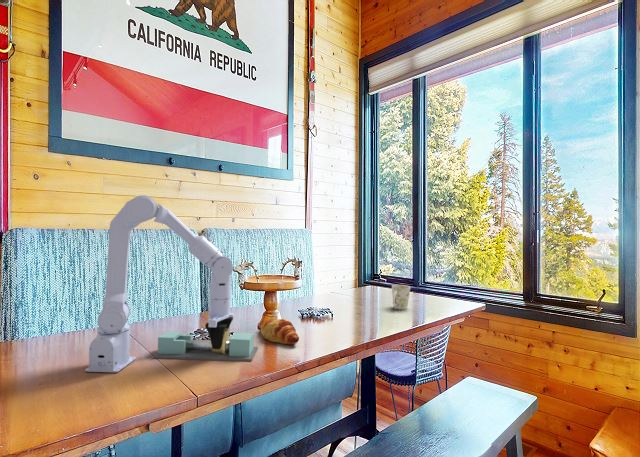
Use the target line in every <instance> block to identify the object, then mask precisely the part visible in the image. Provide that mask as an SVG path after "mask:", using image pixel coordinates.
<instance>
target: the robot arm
mask: <svg viewBox="0 0 640 457" xmlns="http://www.w3.org/2000/svg"><path fill="white" fill-rule="evenodd" d="M152 219H154V220H153V222H155V223H159V224H162V225H165V226H167V227H168V228H169V229H170V230H171V231H172V232H174V233H175V234H176V235H178V237H179V238H181V239H182V240H183V241H185V243H186V244H187V246H188V250H187V251H188V252H189V253H190V254H192V255H193V256H194V257H195V258H196V259H197V260H199V262H201V264H203V265H204V266H205V267H208V268H209V271H210V272H211V273H210V276H211V277H210V282H209V313H208V322H206V323H205V329H206V331H207V333H208V335H209V339H210V340H211V344H212V348H213V349H221V345H222V339H223V334H224V331H225V328H230V327H231V323H232V321H233V320H234V317H235V313H234V312H231V305H232V304H231V301H232V300H231V298H232V297H231V296H232V294H231V293H232V281H231V278H232V273H233V270H234V264H233V262H232V260H231V259H230V258H228V257H227V255H225V254H224V253H225V251H224V250H222V249H219V248H218V247H217V246H215V245H214V244H213V242H212V239H211V238H210V237H205V235H196V234H195V233H194V232H193V231H191V229H189V227H188V226H187V225H186V224H185V223H183V222H182V221H181V220H180V219H179V218H178V217H177V216H176V215H175V214H174V212H172V211H171V210H169V209H168V208H167V207H165V206H163V205H162V204H160V203H159V202H158V203H157V202H156V200H154V198H152V197H151V196H148V195H143V194H142V195H137V196H135V197H134V198H132V199H129V200H128V201H126V202H125V203H124V206H122V208H121V209H120V210H119V212H118V213H116V215H115V216H114V217H113V218H112V220H111V221H110V223H109V231H108V232H109V233H108V248H107V249H108V250H107V251H108V252H107V266H106V267H107V268H106V280H105V281H106V282H105V294H104V299H103V303H102V310H101V312H100V313H99V314H98V317H97V325H98V328H97V335H96V337H95V338H94V339H93V340H92V341H91V342H90V344H89V346H88V347H89V350H88V367H87V368H85V369H84V371H85V372H87V373H89V372H90V373H91V372H93V373H94V372H95V373H119V372H120V371H122V370H123V369H125V367H127V366H128V365H130V364H131V363H132V362H134V361H135V360H137V356H130V348H131V347H130V346H131V344H130V342H131V325H129V323H128V322H127V321H128V320H127V319H128V318H129V316H130V314H131V309H130V305H129V303H128V293H127V289H128V288H127V287H128V273H129V272H128V271H129V269H128V268H129V256H130V242H131V239H130V238H131V231H132V230H134V229H135V228H137V227H138V226H140V224H142V223H144V222H147V221H150V220H152Z"/></svg>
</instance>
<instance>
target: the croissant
mask: <svg viewBox="0 0 640 457" xmlns="http://www.w3.org/2000/svg"><path fill="white" fill-rule="evenodd" d="M296 330H297V329H296V327H294V325H293V323H292V322H291V321H290V320H288V319H286V318H279V319H270V320H266V321H264V322H262V324H261V325H260V333H261V335H262V337H263V339H266V340H268V342H269V341H270V342H272V343H279V344H283V345H294V344H297V343H298V342H299V340H300V337H299V335H298V333H297V332H296Z"/></svg>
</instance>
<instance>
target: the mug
mask: <svg viewBox="0 0 640 457" xmlns="http://www.w3.org/2000/svg"><path fill="white" fill-rule="evenodd" d="M410 292H411V286H410V285H407V284H392V285H391V295H392V305H393V308H394V309H395V310H402V311H403V310H408V304H409V298H410Z"/></svg>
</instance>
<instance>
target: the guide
mask: <svg viewBox="0 0 640 457" xmlns="http://www.w3.org/2000/svg"><path fill="white" fill-rule="evenodd" d="M182 333H183V332H182V331H174V330H172V331H170V330H167V331H165V332H163V333H162V334H161V335H159V336H158V337H157V352H156V354H154V355H153V359H167V360H169V359H171V360H195V361H196V360H197V361H202V360H203V361H205V360H206V361H225V362H226V361H227V362H228V361H230V362H231V361H232V362H233V361H234V362H235V361H236V362H252V361H253V360H254V357H255V356H256V353H257V351H258V349H259V347H258V346H255V344H254V343H255V342H254V338H255V333H254V332H234V333H233V334H232V336H231V337H229V341H230V346H229V351H227V352H226V353H225V354H222V353H217V352H212V351H201V350H186V340H193V337H192V336H193V335H192V334H185V333H184V334H182Z"/></svg>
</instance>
